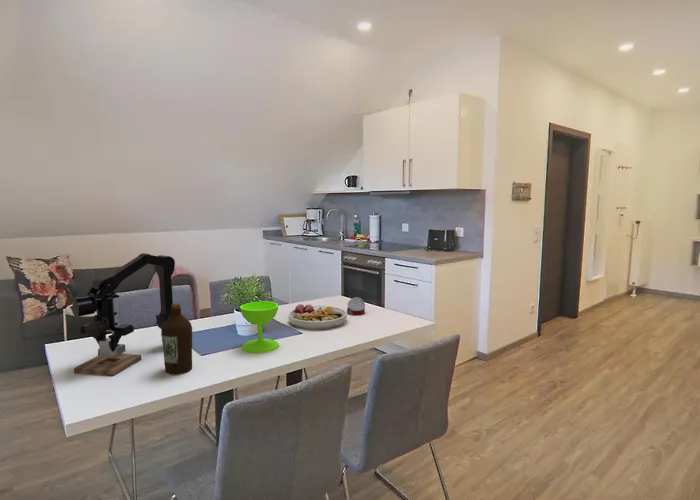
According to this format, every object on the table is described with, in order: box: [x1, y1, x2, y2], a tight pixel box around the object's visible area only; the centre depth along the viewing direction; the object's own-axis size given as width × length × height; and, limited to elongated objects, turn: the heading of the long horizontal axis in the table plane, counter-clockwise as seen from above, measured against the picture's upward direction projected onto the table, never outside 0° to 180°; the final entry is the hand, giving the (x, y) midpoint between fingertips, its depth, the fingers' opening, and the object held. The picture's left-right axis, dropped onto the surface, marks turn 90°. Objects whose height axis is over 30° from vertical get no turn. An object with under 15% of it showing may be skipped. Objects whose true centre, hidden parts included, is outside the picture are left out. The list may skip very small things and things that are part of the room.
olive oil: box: [160, 303, 193, 376], centre depth 159 cm, size 11×11×25 cm
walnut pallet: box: [73, 353, 142, 377], centre depth 164 cm, size 16×16×2 cm
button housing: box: [97, 343, 127, 356], centre depth 177 cm, size 7×7×3 cm
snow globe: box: [346, 296, 366, 317], centre depth 239 cm, size 11×10×10 cm
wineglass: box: [239, 300, 280, 354], centre depth 184 cm, size 16×16×18 cm
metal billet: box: [98, 337, 117, 357], centre depth 163 cm, size 4×4×6 cm
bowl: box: [288, 303, 348, 330], centre depth 222 cm, size 30×30×8 cm
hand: (108, 351), depth 163 cm, fingers closed on metal billet, 4 cm apart
